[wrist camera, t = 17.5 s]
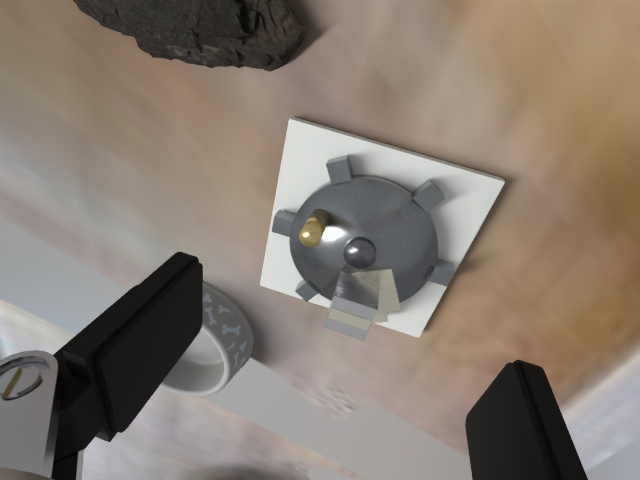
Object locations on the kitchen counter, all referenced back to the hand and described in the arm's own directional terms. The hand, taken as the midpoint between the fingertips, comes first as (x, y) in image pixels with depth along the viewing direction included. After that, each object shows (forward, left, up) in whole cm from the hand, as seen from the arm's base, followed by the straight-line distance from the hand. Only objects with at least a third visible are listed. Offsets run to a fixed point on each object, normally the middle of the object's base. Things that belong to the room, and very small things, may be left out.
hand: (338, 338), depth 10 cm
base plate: (-1, +8, -23) cm, 24 cm away
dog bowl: (+17, +30, -24) cm, 42 cm away
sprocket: (-1, +8, -21) cm, 23 cm away
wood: (+19, -7, -24) cm, 31 cm away
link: (-2, +13, -20) cm, 24 cm away
